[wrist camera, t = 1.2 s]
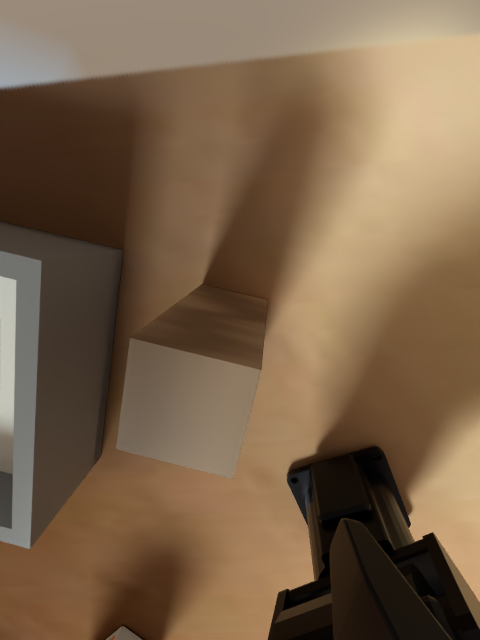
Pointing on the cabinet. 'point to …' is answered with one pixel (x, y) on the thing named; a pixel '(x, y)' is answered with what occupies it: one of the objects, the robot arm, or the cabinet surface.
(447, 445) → the cabinet surface
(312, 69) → the cabinet surface
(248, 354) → the walnut peg
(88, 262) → the peg socket
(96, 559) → the cabinet surface
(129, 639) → the skincare box
